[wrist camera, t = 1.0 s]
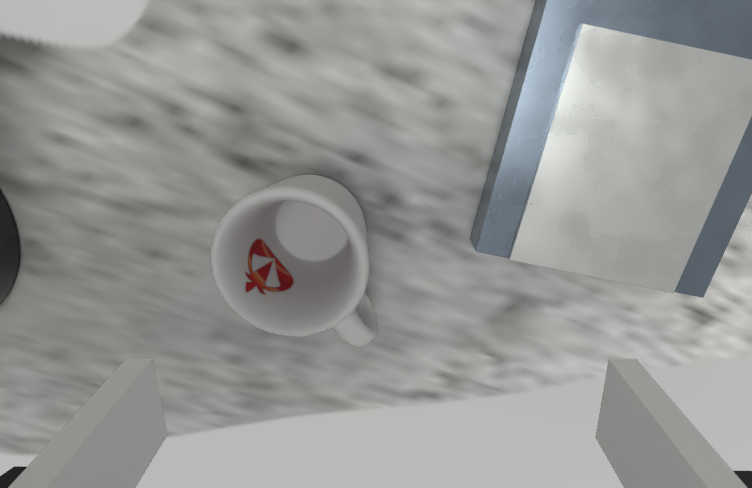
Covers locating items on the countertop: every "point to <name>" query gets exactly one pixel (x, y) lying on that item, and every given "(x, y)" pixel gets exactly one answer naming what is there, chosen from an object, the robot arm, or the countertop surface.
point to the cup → (297, 260)
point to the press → (625, 142)
